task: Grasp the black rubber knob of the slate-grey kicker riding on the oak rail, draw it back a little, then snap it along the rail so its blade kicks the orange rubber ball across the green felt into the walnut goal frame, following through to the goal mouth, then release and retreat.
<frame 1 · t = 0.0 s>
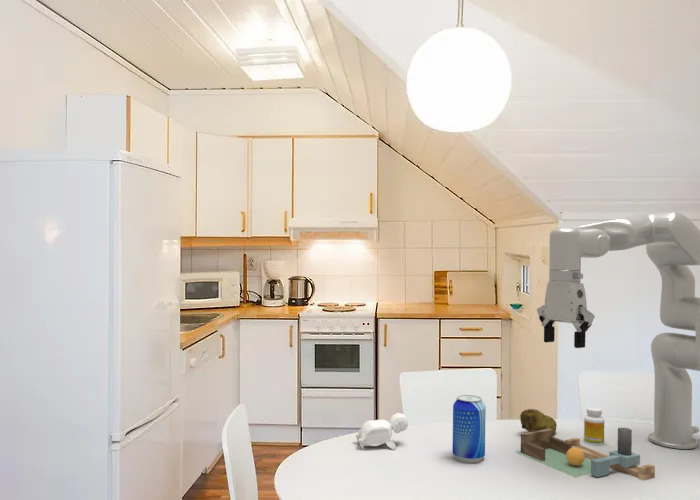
hand: (564, 344, 147), 31 cm above the table, tool pointing down, fingers open, 9 cm apart
potato: (539, 436, 173), on the table
felt mat: (561, 460, 152), on the table
ball: (575, 465, 148), resting on felt mat
rail: (607, 463, 150), on the table
supplement bottle: (593, 443, 167), on the table
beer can: (468, 459, 153), on the table
white turtle figurine: (382, 446, 163), on the table
kicker: (613, 451, 144), point 5 cm above the table, slide at 0.0 cm
goal: (546, 453, 157), resting on felt mat
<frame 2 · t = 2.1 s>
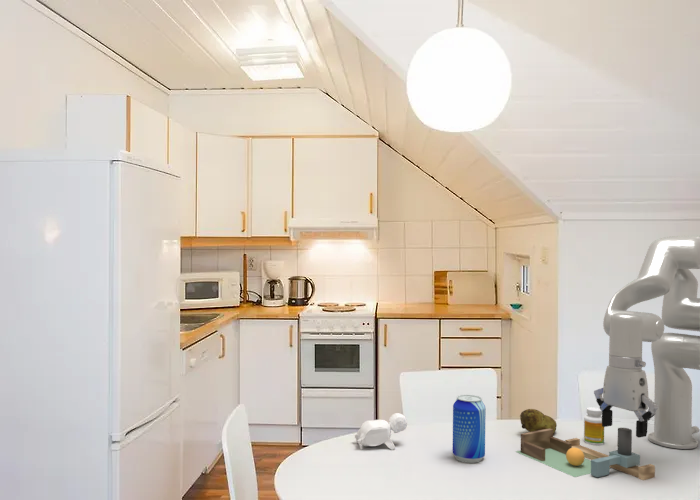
hand: (623, 431, 146), 10 cm above the table, tool pointing down, fingers open, 9 cm apart
nothing on the table moved.
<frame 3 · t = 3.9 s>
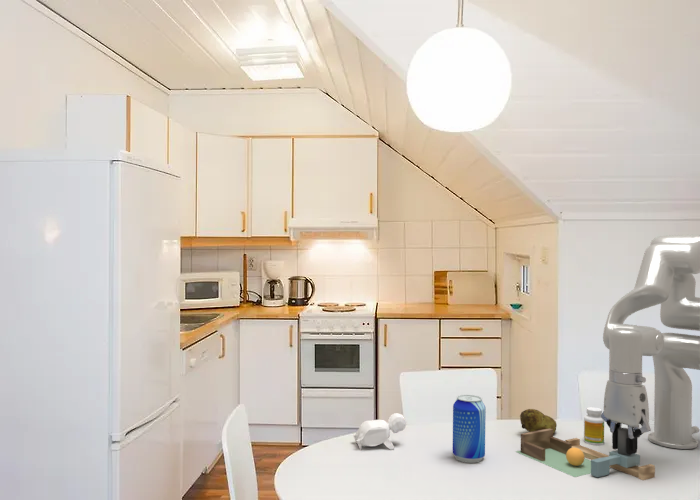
hand: (624, 450, 146), 5 cm above the table, tool pointing down, fingers closed on kicker, 3 cm apart
kicker: (613, 451, 144), point 5 cm above the table, slide at 0.0 cm, touching gripper
everything else where it was.
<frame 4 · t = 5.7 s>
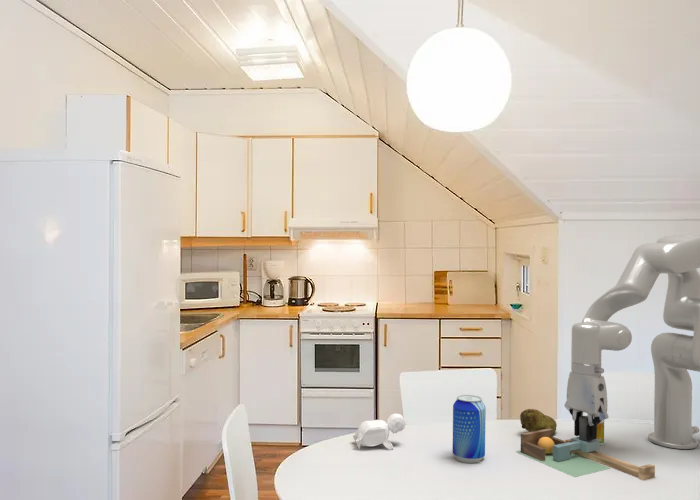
hand: (585, 436, 157), 5 cm above the table, tool pointing down, fingers closed on kicker, 3 cm apart
ball: (541, 438, 158), point 4 cm above the table, tilted 131°, touching felt mat
kicker: (574, 437, 155), point 5 cm above the table, slide at 11.9 cm, touching gripper
everything else where it was.
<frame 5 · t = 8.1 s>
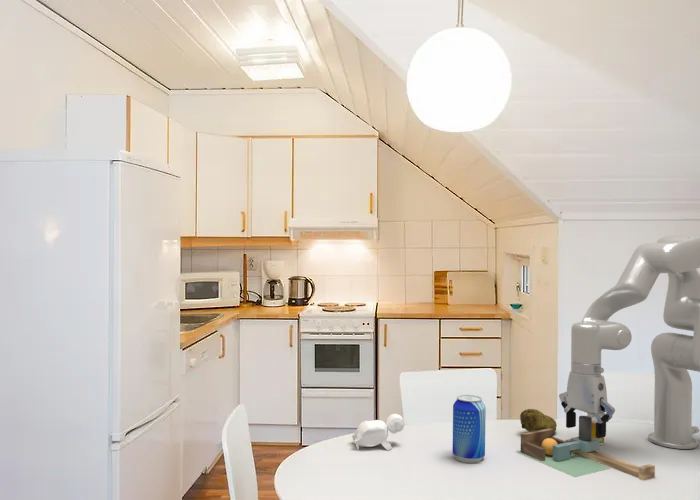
hand: (585, 432, 157), 6 cm above the table, tool pointing down, fingers open, 9 cm apart
ball: (548, 438, 156), point 5 cm above the table, tilted 165°, touching felt mat
kicker: (573, 437, 155), point 5 cm above the table, slide at 12.0 cm
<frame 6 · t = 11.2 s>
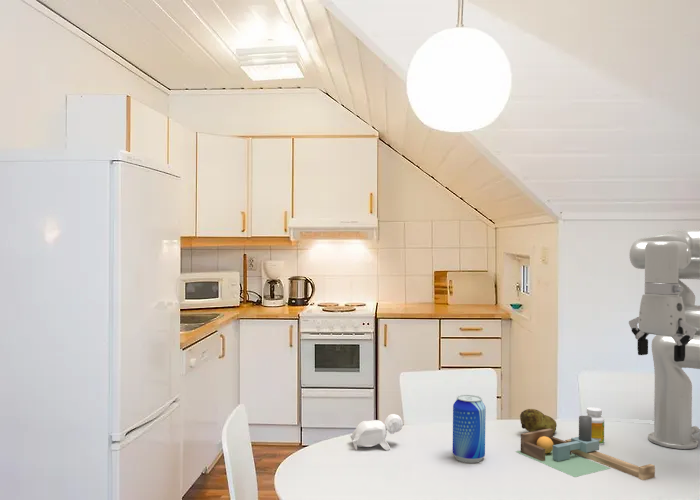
hand: (660, 357, 146), 28 cm above the table, tool pointing down, fingers open, 9 cm apart
ball: (539, 438, 159), point 3 cm above the table, tilted 120°, touching felt mat
at the end: ball inside the target area on the goal (3.0 cm from its centre), point 3.3 cm above the goal's base; kicker slide at 12.0 cm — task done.
